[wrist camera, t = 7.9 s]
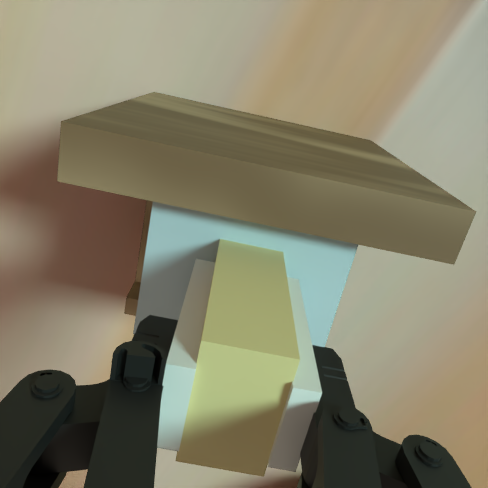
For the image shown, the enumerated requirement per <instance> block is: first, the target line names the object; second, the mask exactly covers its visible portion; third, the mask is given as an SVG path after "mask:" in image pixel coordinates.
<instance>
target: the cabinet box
mask: <svg viewBox="0 0 488 488" xmlns="http://www.w3.org/2000/svg"><path fill="white" fill-rule="evenodd" d="M357 247H358V244H354V243H349V242H344V241H339V240H335V239H330V238H325V237H320V236H315V235H311V234H306V233H301V232H296V231H292V230H287V229H282V228H277V227H272V226H268V225H263V224H258V223H253V222H249V221H244V220H239V219H234V218H229V217H225V216H220V215H215V214H210V213H206V212H201V211H196V210H191V209H187V208H182V207H177V206H172V205H167V204H163V203H158V202H153V204H152V211H151V218H150V224H149V231H148V238H147V245H146V251H145V258H144V265H143V272H142V278H141V285H140V292H139V299H138V305H137V312H136V319H135V325H134V332H133V334H135V332H136V330H137V327H138V325H139V323H140V321H142V320H143V319H145V318H146V317H147V316H149V315H154V316H159V317H164V318H169V319H175V320H179V316H180V313H181V309H182V306H183V302H184V299H185V295H186V292H187V288H188V285H189V281H190V278H191V274H192V271H193V267H194V264H195V260H196V259H200V260H205V261H210V262H215V267H214V272H213V277H212V283H211V288H210V293H209V299H208V304H207V309H206V315H205V320H204V325H203V331H202V336H201V341H200V347H199V352H198V357H197V367H196V372H195V376H194V381H193V386H192V391H191V396H190V400H189V405H188V410H187V415H186V419H185V424H184V429H183V434H182V438H181V443H180V448H179V451H177V456H176V461H178V462H184V463H190V464H195V465H201V466H207V467H212V468H218V469H224V470H229V471H235V472H241V473H246V474H252V475H258V476H263V477H264V474H265V471H266V468H267V464H268V459H269V456H270V453H271V449H272V446H273V443H274V440H275V436H276V433H277V430H278V427H279V423H280V420H281V417H282V413H283V410H284V407H285V404H286V400H287V397H288V394H289V391H290V387H291V384H292V381H294V378H295V375H296V371H297V368H298V365H299V362H300V356H299V350H298V343H297V337H296V331H295V324H294V318H293V311H292V305H291V299H290V292H289V286H288V280H287V277H290V278H295V279H299V284H300V289H301V293H302V298H303V303H304V308H305V313H306V317H307V322H308V327H309V332H310V337H311V341H312V345H315V346H321V347H325V344H326V341H327V338H328V335H329V332H330V329H331V326H332V323H333V320H334V317H335V314H336V310H337V307H338V304H339V301H340V298H341V295H342V292H343V289H344V286H345V283H346V280H347V277H348V274H349V271H350V268H351V265H352V262H353V259H354V256H355V253H356V250H357Z"/></svg>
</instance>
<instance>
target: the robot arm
mask: <svg viewBox="0 0 488 488" xmlns="http://www.w3.org/2000/svg"><path fill="white" fill-rule="evenodd" d="M214 267H215V262H210V261H205V260H200V259H196V260H195V264H194V267H193V271H192V274H191V278H190V281H189V285H188V288H187V292H186V295H185V299H184V302H183V306H182V309H181V313H180V316H179V320H175V319H169V318H164V317H159V316H154V315H149V316H147V317H146V318H145V319H143V320H142V321H140V323H139V325H138V327H137V330H136V332H135V334H134V337H133V339H132V341H129V342H125V343H123V344H121V345H120V346H118V347H117V348H116V349H115V351H114V353H113V359H112V367H111V374H110V379H109V380H107V381H105V382H102V383H99V384H93V385H80V386H76V384H75V380H74V379H73V378H72V377H71V376H70V375H69V374H67V373H64V372H62V371H57V370H42V371H37V372H34V373H32V374H29V375H27V376H26V377H25V378H23V379H22V380H21V381H20V382H19V383H18V384H17V385H16V386H15V387H14V388H13V389H12V390H11V391H10V392H9V393H8V395H7V396H6V397H5V398H4V399H3V400H2V401H1V402H0V488H58V487H59V486H60V484H61V482H62V481H63V479H64V477H65V476H66V473H67V472H68V471H77V470H85V469H88V472H87V476H86V480H85V484H84V488H154V477H155V466H156V454H157V448H162V449H168V450H174V451H179V448H180V443H181V438H182V434H183V429H184V424H185V419H186V415H187V410H188V405H189V400H190V396H191V391H192V386H193V381H194V376H195V372H196V367H197V357H198V352H199V347H200V341H201V336H202V331H203V325H204V320H205V315H206V309H207V304H208V299H209V293H210V288H211V283H212V277H213V272H214ZM287 280H288V286H289V292H290V299H291V305H292V311H293V318H294V324H295V331H296V337H297V343H298V350H299V356H300V362H299V365H298V368H297V371H296V375H295V378H294V381H292V384H291V387H290V391H289V394H288V397H287V400H286V404H285V407H284V410H283V413H282V417H281V420H280V423H279V427H278V430H277V433H276V436H275V440H274V443H273V446H272V449H271V453H270V456H269V459H268V467H271V468H276V469H282V470H288V471H293V472H296V469H297V466H298V463H299V460H300V457H301V465H302V474H301V477H300V480H299V482H298V485H297V488H471V486H470V484H469V483H468V481H467V480H466V478H465V476H464V475H463V473H462V472H461V470H460V468H459V467H458V465H457V464H456V462H455V460H454V459H453V457H452V456H451V455H450V454H449V452H448V451H447V450H446V449H445V448H444V447H442V446H441V445H440V444H439V443H437V442H436V441H434V440H432V439H430V438H428V437H424V436H420V435H409V436H408V437H406V438H405V439H404V440H403V442H402V444H401V445H400V444H398V443H396V442H393V441H391V440H389V439H386V438H384V437H382V436H380V435H378V434H376V433H375V432H373V431H372V427H371V424H370V422H369V420H368V419H367V418H366V416H365V415H364V414H363V413H361V412H360V411H359V410H357V409H356V408H355V404H354V401H353V398H352V394H351V391H350V387H349V384H348V381H347V377H346V374H345V372H344V367H343V364H342V360H341V358H340V357H339V356H338V355H337V354H336V352H335V351H334V350H333V349H331V348H326V347H321V346H315V345H312V341H311V337H310V332H309V327H308V322H307V317H306V313H305V308H304V303H303V298H302V293H301V289H300V284H299V279H295V278H290V277H287Z"/></svg>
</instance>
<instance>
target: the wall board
mask: <svg viewBox="0 0 488 488" xmlns="http://www.w3.org/2000/svg"><path fill="white" fill-rule="evenodd" d="M57 181H58V182H62V183H67V184H72V185H77V186H81V187H86V188H91V189H96V190H101V191H105V192H110V193H115V194H120V195H124V196H129V197H134V198H139V199H144V200H147V202H146V209H145V216H144V223H143V230H142V237H141V244H140V251H139V258H138V265H137V272H136V279H135V283H134V284H133V286H132V288H131V290H130V292H129V294H128V296H127V298H126V305H125V312H124V313H125V314H130V315H135V316H136V312H137V305H138V299H139V292H140V285H141V278H142V272H143V265H144V258H145V251H146V245H147V238H148V231H149V224H150V218H151V211H152V204H153V202H158V203H163V204H167V205H172V206H177V207H182V208H187V209H191V210H196V211H201V212H206V213H210V214H215V215H220V216H225V217H229V218H234V219H239V220H244V221H249V222H253V223H258V224H263V225H268V226H272V227H277V228H282V229H287V230H292V231H296V232H301V233H306V234H311V235H315V236H320V237H325V238H330V239H335V240H339V241H344V242H349V243H354V244H358V245H363V246H368V247H373V248H378V249H382V250H387V251H392V252H397V253H401V254H406V255H411V256H416V257H420V258H425V259H430V260H435V261H440V262H444V263H449V264H454V263H455V261H456V259H457V256H458V254H459V252H460V249H461V247H462V244H463V242H464V240H465V237H466V235H467V233H468V230H469V228H470V225H471V223H472V221H473V218H474V216H475V213H476V211H474V210H473V209H471V208H470V207H468V206H467V205H466V204H464V203H463V202H461V201H460V200H458V199H457V198H455V197H454V196H452V195H451V194H449V193H448V192H446V191H445V190H443V189H442V188H440V187H439V186H437V185H436V184H434V183H433V182H431V181H430V180H429V179H427V178H426V177H424V176H423V175H421V174H420V173H418V172H417V171H415V170H414V169H412V168H411V167H409V166H408V165H406V164H405V163H403V162H402V161H400V160H399V159H397V158H396V157H394V156H393V155H392V154H390V153H389V152H387V151H386V150H384V149H383V148H381V147H380V146H378V145H377V144H375V143H374V142H372V141H370V140H366V139H361V138H357V137H352V136H348V135H344V134H339V133H335V132H330V131H326V130H321V129H317V128H312V127H308V126H303V125H299V124H294V123H290V122H285V121H281V120H277V119H272V118H268V117H263V116H259V115H254V114H250V113H245V112H241V111H236V110H232V109H227V108H223V107H218V106H214V105H210V104H205V103H201V102H196V101H192V100H187V99H183V98H178V97H174V96H169V95H165V94H160V93H156V92H153V93H150V94H147V95H143V96H140V97H137V98H134V99H131V100H128V101H124V102H121V103H118V104H115V105H112V106H109V107H105V108H102V109H99V110H96V111H93V112H90V113H86V114H83V115H80V116H77V117H74V118H71V119H68V120H64V121H61V131H60V146H59V162H58V177H57Z"/></svg>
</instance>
